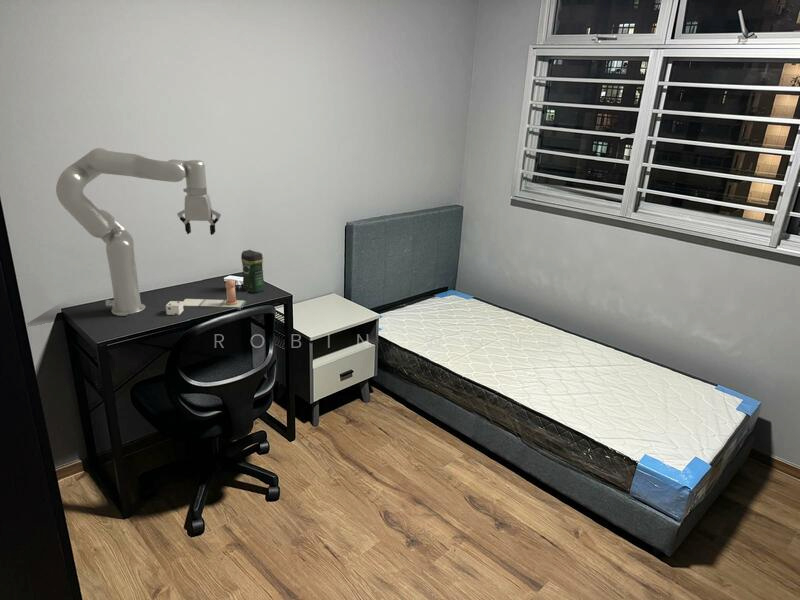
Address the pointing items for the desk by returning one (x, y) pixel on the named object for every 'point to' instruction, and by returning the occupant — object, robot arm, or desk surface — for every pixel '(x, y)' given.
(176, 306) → the die
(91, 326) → the desk surface
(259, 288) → the coffee jar
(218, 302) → the board
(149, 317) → the desk surface
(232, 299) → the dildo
